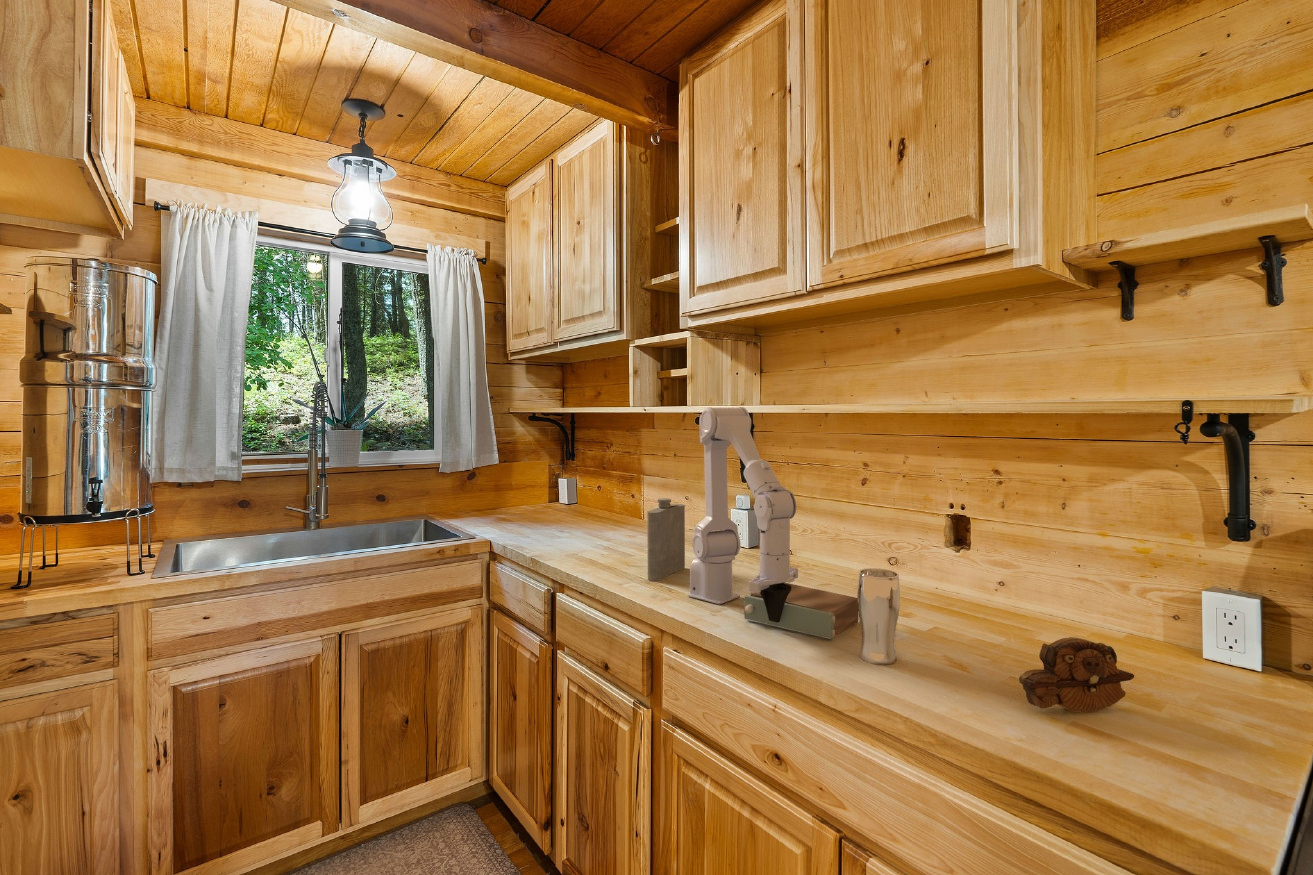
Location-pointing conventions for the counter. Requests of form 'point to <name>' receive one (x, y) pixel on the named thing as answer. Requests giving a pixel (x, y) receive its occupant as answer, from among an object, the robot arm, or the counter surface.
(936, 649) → the counter surface
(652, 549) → the hip flask
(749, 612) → the cabinet door
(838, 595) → the cabinet
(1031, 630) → the counter surface
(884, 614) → the beer glass
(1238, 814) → the counter surface
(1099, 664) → the wooden carving
